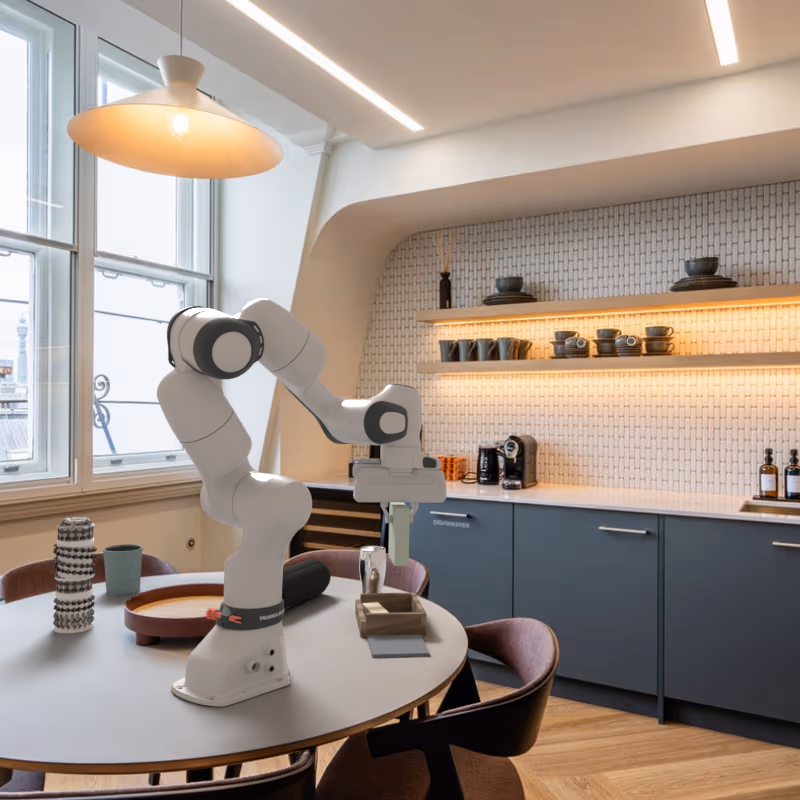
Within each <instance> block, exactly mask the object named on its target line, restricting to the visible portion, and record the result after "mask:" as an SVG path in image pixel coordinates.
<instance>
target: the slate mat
mask: <svg viewBox="0 0 800 800" xmlns="http://www.w3.org/2000/svg"><path fill="white" fill-rule="evenodd" d="M366 638H367V641H368V642H367V643H368V646H369V650H370V654H371V657H372V658H394V657H395V658H397V657H428V656H429V657H430V651H429V649H428V648H427V645H426V643H425V641H424V639H423V637H422V636H421V635H420V634H419V635H375V636H367V637H366Z"/></svg>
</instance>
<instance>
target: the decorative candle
mask: <svg viewBox="0 0 800 800" xmlns="http://www.w3.org/2000/svg"><path fill="white" fill-rule="evenodd" d="M94 526H96V523H93V522H92V520H91V519H90V518H88V517H86V516H85V517H84V516H77V517H76V516H73V517H66V518H63V519H62V520H61V522H60V524H58V525H56V528H57V539H56V543H54V544H53V547H54V548H53V550H52V553H53V554H55V557H54V558H53V562H54V563H55V564H53V569H54V570H55V572H54V576H53V577H54V579H55V580H56V589H55V598H54V600H53V603H54V604H55V605H54V607H53V610H55V611H54V613H53V616H52V617H53V618H54V620H53V622H52V623H53V626H54V627H53V631H54V632H55V633H58V634H64V635H65V634H69V635H70V634H78V633H83V632H86V631H89V630H91V629H93V628H94V621H95V616H94V615H95V609H93V607H94V606H95V602H94V600H95V597H96V596H95V594H94V586H93V581H94V580H93V578H94V577H95V575H96V574H95V573H96V572H97V571H96V569H94V568H95V567H96V565H97V564H96V563H95V562H94V561H93V560H94V559H96V558H97V556H98V555H97V554H96V553H95V552H96V551H97V550H98V548H97V547H95V546H94V543H95V536H94Z"/></svg>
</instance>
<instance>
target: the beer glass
mask: <svg viewBox="0 0 800 800" xmlns="http://www.w3.org/2000/svg"><path fill="white" fill-rule="evenodd" d="M359 550H360V551H359V559H358V561H359V565H358V567H359V568H358V569H359V578H360V583H361V584H360V585H361V593H383V588H384V583H385V577H386V570H387V555H386V553H387V552H386V547H384V546H380V545H379V546H378V545H366V546H365V545H364V546H361V547H360V549H359Z"/></svg>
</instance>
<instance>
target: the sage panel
mask: <svg viewBox="0 0 800 800" xmlns="http://www.w3.org/2000/svg"><path fill="white" fill-rule="evenodd" d="M388 509H389V512H388V514H392V515H393V519H392V520H393V523H388V550H387V552H388V557H389V559H390V561H391V562H392V564H393V566H394V567H409V564H410V563H409V561H410V559H409V558H410V524H411V523H410V511H411V508H410V507H409V506H408V505H407V504H406V502H389V508H388Z"/></svg>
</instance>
